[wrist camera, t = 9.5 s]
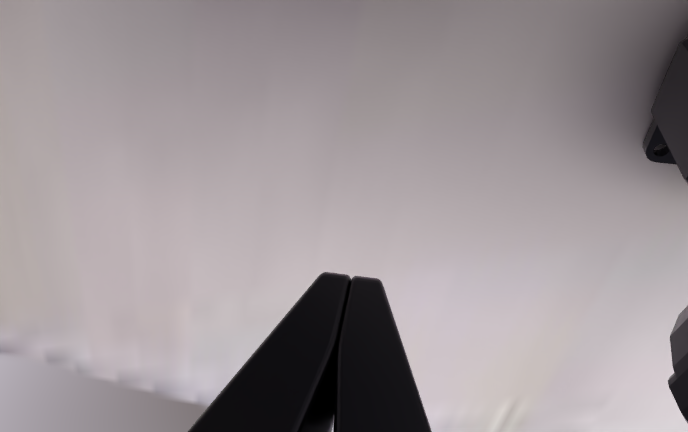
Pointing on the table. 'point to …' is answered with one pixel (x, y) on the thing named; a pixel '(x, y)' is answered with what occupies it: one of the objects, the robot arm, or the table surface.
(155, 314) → the table surface
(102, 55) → the table surface
